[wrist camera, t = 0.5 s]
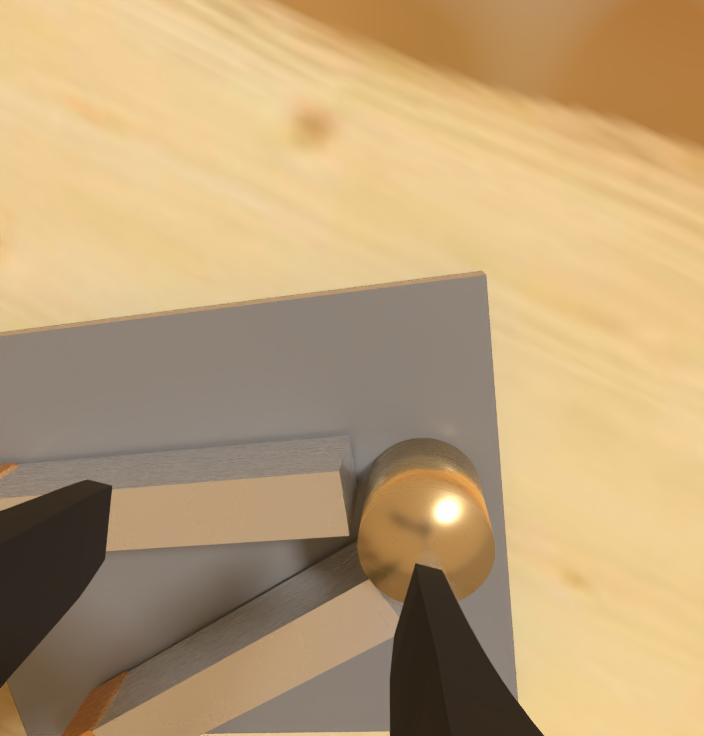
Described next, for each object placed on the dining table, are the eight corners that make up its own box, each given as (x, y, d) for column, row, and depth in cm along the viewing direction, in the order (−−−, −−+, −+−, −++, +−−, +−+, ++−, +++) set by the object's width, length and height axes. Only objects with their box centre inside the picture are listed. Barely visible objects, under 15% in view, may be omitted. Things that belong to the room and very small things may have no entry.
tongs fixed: (474, 416, 20) (488, 464, 17) (484, 534, 22) (500, 604, 18) (-28, 462, 23) (-114, 512, 19) (8, 563, 25) (-66, 629, 21)
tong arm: (373, 528, 22) (367, 576, 19) (410, 576, 22) (410, 631, 19) (90, 691, 26) (50, 751, 23) (127, 729, 26) (91, 793, 23)
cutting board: (515, 705, 25) (520, 729, 24) (42, 714, 28) (27, 735, 27) (481, 271, 20) (486, 275, 19) (-93, 344, 23) (-119, 351, 22)
